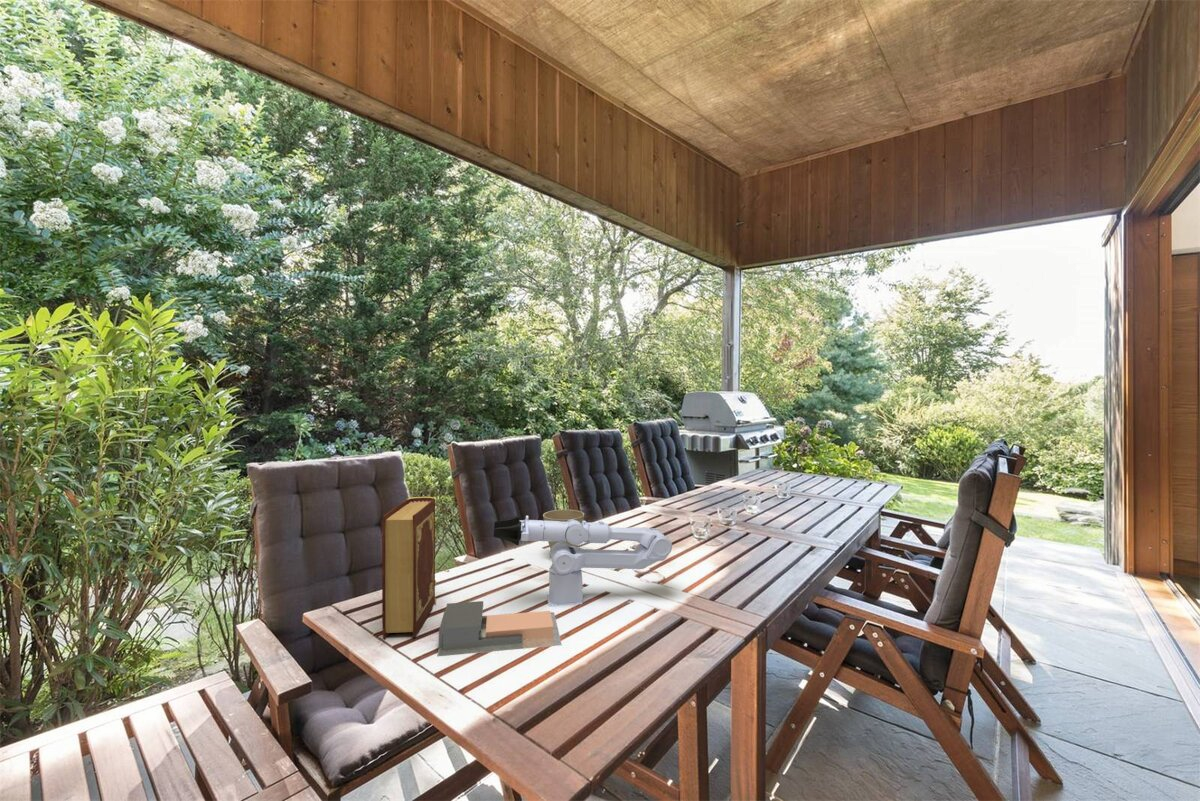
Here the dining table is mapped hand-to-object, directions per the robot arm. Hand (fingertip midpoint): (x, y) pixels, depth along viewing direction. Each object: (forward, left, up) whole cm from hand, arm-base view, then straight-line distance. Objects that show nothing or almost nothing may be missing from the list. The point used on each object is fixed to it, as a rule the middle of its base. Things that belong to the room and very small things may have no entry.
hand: (493, 528), depth 139 cm
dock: (-2, +17, -22) cm, 28 cm away
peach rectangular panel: (-7, +17, -21) cm, 28 cm away
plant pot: (-24, -38, -22) cm, 50 cm away
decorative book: (+21, +4, -22) cm, 31 cm away
